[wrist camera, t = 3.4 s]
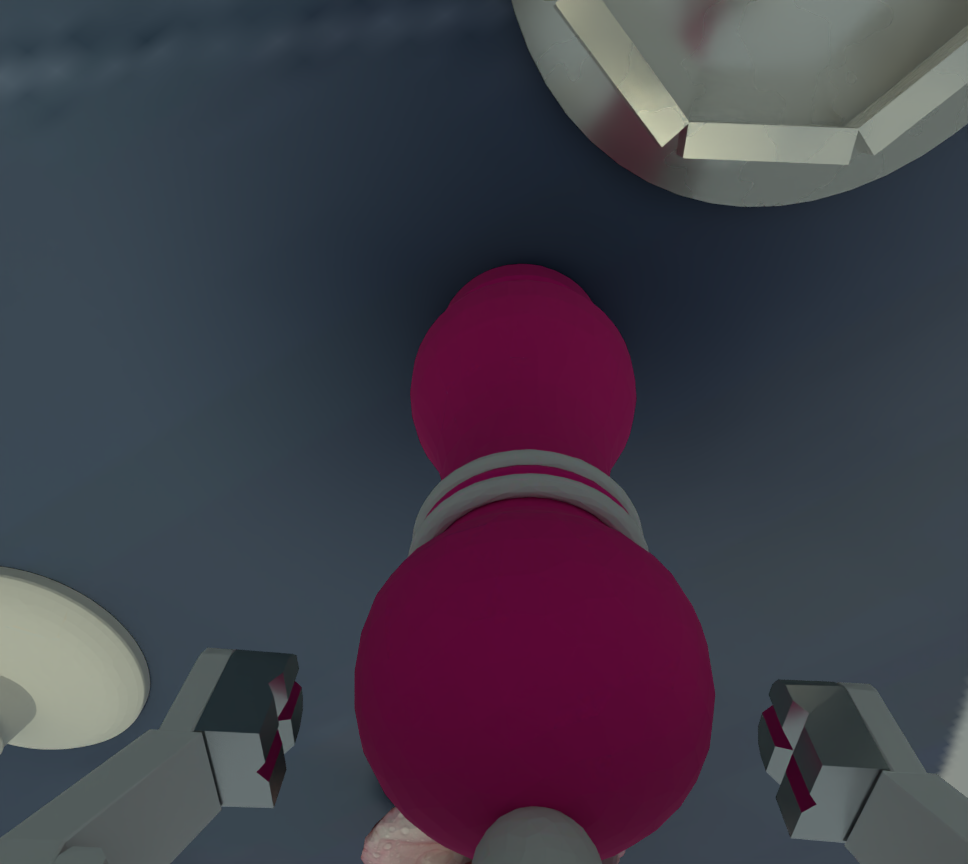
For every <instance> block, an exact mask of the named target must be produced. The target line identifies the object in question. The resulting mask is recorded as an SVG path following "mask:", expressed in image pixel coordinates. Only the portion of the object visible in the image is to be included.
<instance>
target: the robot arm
mask: <svg viewBox="0 0 968 864" xmlns="http://www.w3.org/2000/svg"><path fill="white" fill-rule="evenodd" d="M298 670H299V666H298V661H297V656H296V655H294V654H287V653H274V652H262V651H250V650H237V649H236V650H233V649H219V648H207V649H206V650H205V651H203V652H202V653H201V654H200V655H199V657H198V659H197V661H196V662H195V664H194V666H193V668H192V670H191V672H190V673H189V675H188V677H187V679H186V681H185V683H184V684H183V686H182V688H181V690H180V692H179V693H178V695H177V697H176V699H175V701H174V703H173V704H172V706H171V708H170V710H169V712H168V714H167V715H166V717H165V719H164V721H163V723H162V725H161V726H160V728H159V730H152V729H150V730H148V731H147V732H146V733H144V734H143V735H141V736H140V737H139V738H137V739H136V740H135V741H133V742H132V743H130V744H129V745H128V746H126V747H125V748H124V749H122V750H121V751H119V752H118V753H117V754H115V755H114V756H112V757H111V758H110V759H108V760H107V761H106V762H104V763H103V764H101V765H100V766H99V767H97V768H96V769H95V770H93V771H92V772H90V773H89V774H88V775H86V776H85V777H84V778H82V779H81V780H79V781H78V782H77V783H75V784H74V785H73V786H71V787H70V788H68V789H67V790H66V791H64V792H63V793H62V794H60V795H59V796H57V797H56V798H55V799H53V800H52V801H51V802H49V803H48V804H46V805H45V806H44V807H42V808H41V809H40V810H38V811H37V812H35V813H34V814H33V815H31V816H30V817H28V818H27V819H26V820H24V821H23V822H22V823H20V824H19V825H17V826H16V827H15V828H13V829H12V830H11V831H9V832H8V833H6V834H5V835H4V836H2V837H1V838H0V864H170V863H171V862H172V861H173V860H174V859H175V858H176V857H177V856H178V855H179V854H180V853H181V852H182V851H183V849H184V848H185V847H186V846H187V845H188V844H189V843H190V842H191V841H192V840H193V839H194V838H195V837H196V836H197V835H198V834H199V833H200V832H201V831H202V830H203V829H204V827H205V826H206V825H207V824H208V823H209V822H210V821H211V820H212V819H213V818H214V817H215V816H216V815H217V814H218V813H219V812H220V811H221V806H225V807H260V808H274V805H275V802H276V799H277V796H278V793H279V790H280V787H281V784H282V781H283V778H284V775H285V772H286V763H285V757H284V754H285V753H286V752H287V751H288V750H289V749H290V748H291V747H293V746H294V745H295V742H296V739H297V735H298V732H299V729H300V723H301V717H302V711H303V694H302V687H301V686H300V685H299V684H298V683H297V682H295V679H296V676H297V673H298ZM769 697H770V700H771V702H772V704H773V706H771V707H770V708H768V709H767V710H765V711H764V712H763V713H762V715H761V719H760V722H759V725H758V745H759V750H760V755H761V759H762V761H763V764H764V767H765V770H766V772H767V773H768V774H769V775H770V776H771V777H772V778H773V779H775V780H776V781H777V782H778V783H779V784H780V787H779V790H778V792H777V795H776V800H777V803H778V805H779V808H780V811H781V813H782V816H783V819H784V821H785V824H786V827H787V829H788V832H789V835H790V837H791V838H795V839H806V840H818V841H829V842H841V843H845V845H844V846H845V847H846V848H847V849H848V850H849V851H850V852H851V854H852V855H853V856H854V857H855V858H856V859H857V860H858V861H859V862H860V864H968V798H967V797H965V796H964V795H963V794H962V793H960V792H959V791H958V790H956V789H955V788H954V787H953V786H951V785H950V784H949V783H947V782H946V781H945V780H943V779H942V778H941V777H940V776H938V775H937V774H931V773H926V771H925V769H924V768H923V766H922V764H921V763H920V761H919V760H918V758H917V756H916V755H915V753H914V751H913V750H912V748H911V746H910V745H909V743H908V741H907V740H906V738H905V736H904V735H903V733H902V731H901V730H900V728H899V727H898V725H897V723H896V722H895V720H894V718H893V717H892V715H891V713H890V712H889V710H888V708H887V707H886V705H885V703H884V702H883V700H882V698H881V697H880V695H879V694H878V692H877V690H876V689H875V688H874V687H872V686H871V685H870V684H861V683H841V682H838V683H836V682H827V681H803V680H779V679H778V680H777V681H775V682H774V683H773V684H772V687H771V689H770V692H769Z"/></svg>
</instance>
